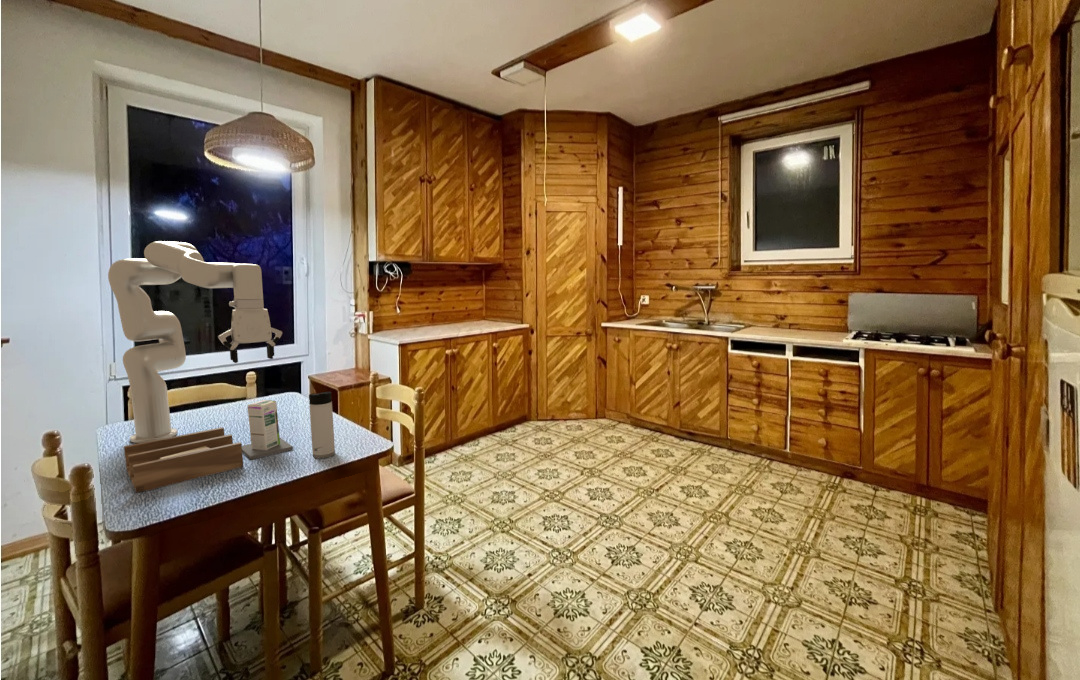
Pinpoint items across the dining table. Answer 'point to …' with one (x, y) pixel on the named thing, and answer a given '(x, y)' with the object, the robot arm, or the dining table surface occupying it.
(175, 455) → the upper offcut
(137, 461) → the walnut rack
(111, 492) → the dining table surface
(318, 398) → the travel mug
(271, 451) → the rubber mat
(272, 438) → the syrup box
